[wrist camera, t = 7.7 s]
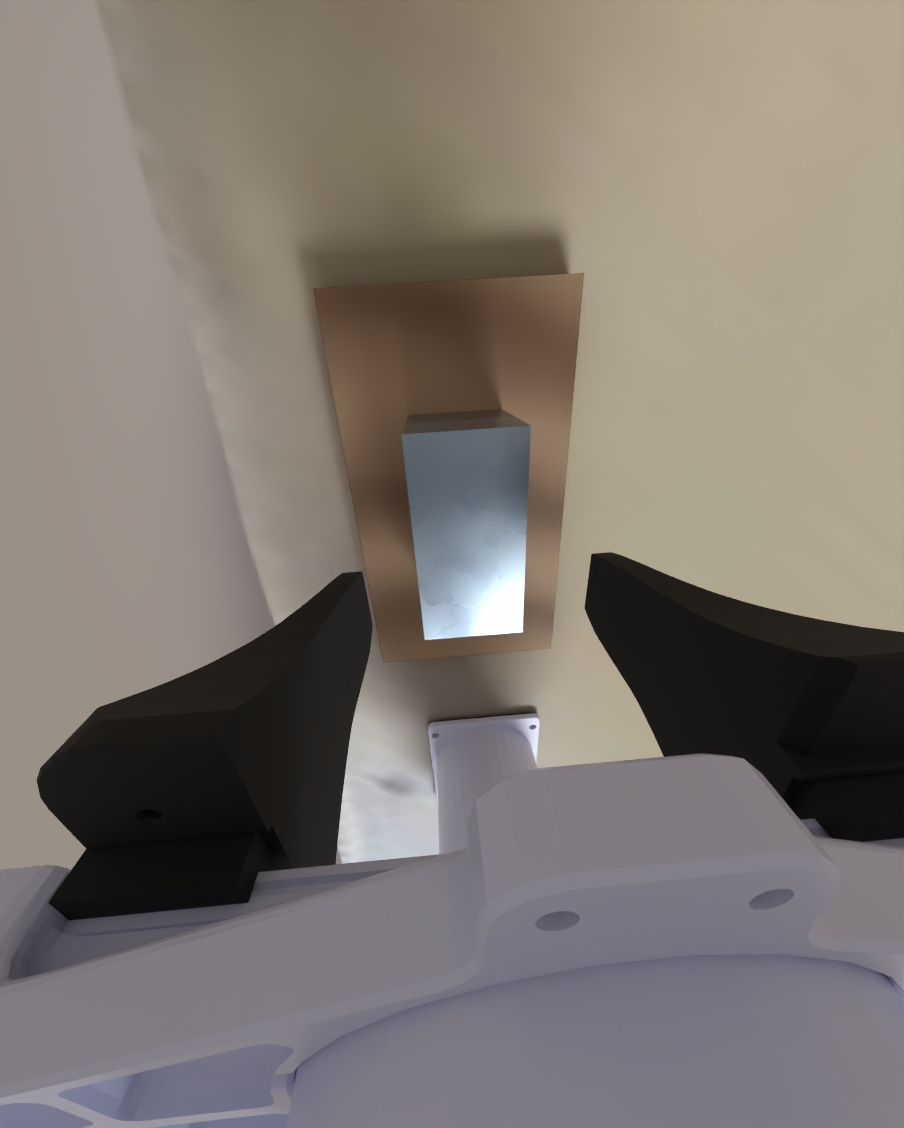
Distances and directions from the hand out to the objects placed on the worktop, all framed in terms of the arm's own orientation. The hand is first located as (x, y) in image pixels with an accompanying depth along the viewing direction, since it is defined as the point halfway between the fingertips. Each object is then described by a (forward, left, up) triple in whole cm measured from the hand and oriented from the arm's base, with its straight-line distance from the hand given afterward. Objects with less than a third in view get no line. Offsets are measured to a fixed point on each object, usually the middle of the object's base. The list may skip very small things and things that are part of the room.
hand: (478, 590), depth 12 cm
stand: (0, 0, -9) cm, 9 cm away
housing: (+1, 0, -7) cm, 7 cm away
